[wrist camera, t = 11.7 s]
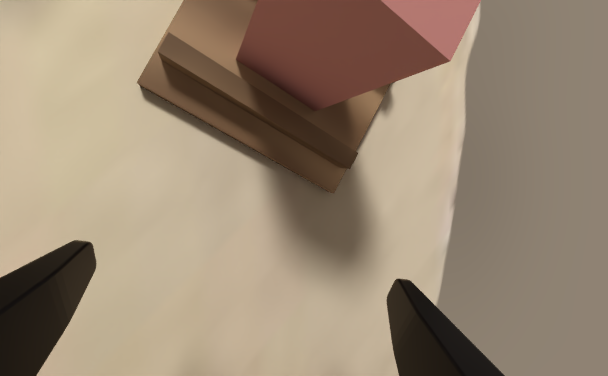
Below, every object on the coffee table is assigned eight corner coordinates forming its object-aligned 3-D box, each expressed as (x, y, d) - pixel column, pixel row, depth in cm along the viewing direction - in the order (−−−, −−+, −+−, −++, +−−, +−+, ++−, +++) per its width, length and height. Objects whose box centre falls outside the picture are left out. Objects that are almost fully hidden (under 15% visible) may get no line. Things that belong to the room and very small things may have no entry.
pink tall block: (315, 111, 21) (450, 61, 10) (235, 59, 19) (287, -81, 8) (338, 67, 21) (497, -34, 10) (262, 10, 19) (351, -196, 8)
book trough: (329, 192, 23) (343, 196, 20) (139, 85, 18) (130, 75, 16) (401, 52, 23) (422, 41, 21) (236, -85, 19) (240, -117, 17)
